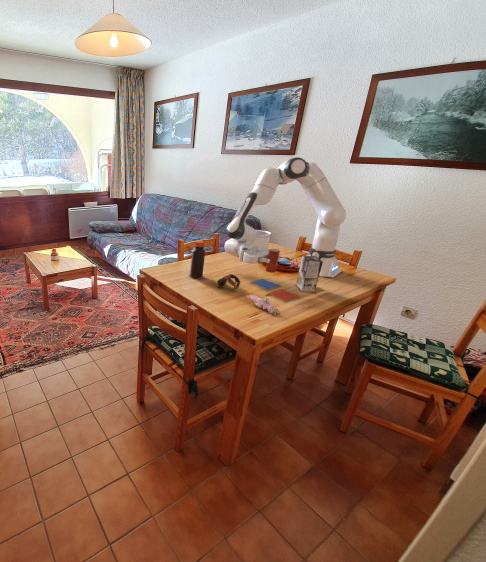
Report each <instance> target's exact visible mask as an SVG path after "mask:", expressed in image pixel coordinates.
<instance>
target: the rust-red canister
mask: <svg viewBox="0 0 486 562" xmlns="http://www.w3.org/2000/svg"><path fill="white" fill-rule="evenodd" d="M268 249H269V254H268V258H269V259H271V262H270V263H267V262H266V264H265V272H267V273H269V274H274V273H276V271H277V267H278V262H279V260H278V258H279V259H280V253H281V250H280V249H277V248H268Z"/></svg>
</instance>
